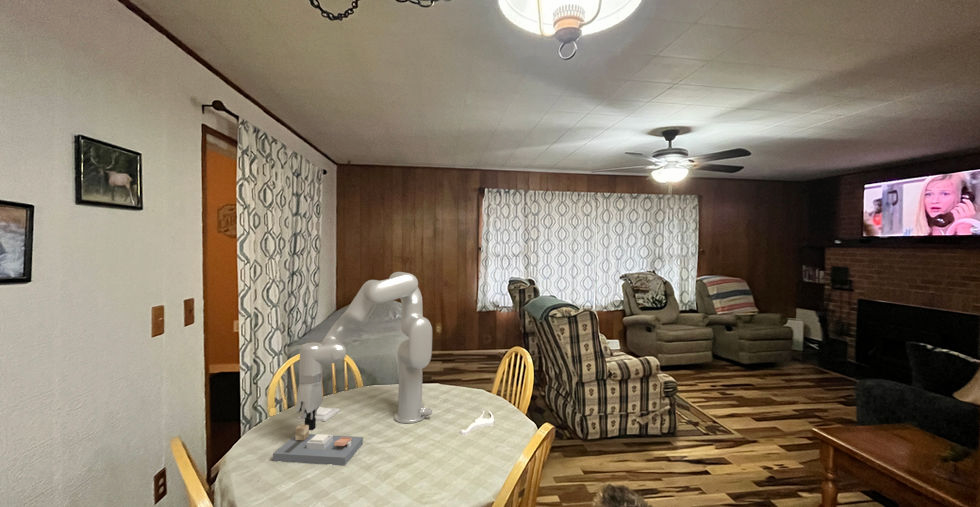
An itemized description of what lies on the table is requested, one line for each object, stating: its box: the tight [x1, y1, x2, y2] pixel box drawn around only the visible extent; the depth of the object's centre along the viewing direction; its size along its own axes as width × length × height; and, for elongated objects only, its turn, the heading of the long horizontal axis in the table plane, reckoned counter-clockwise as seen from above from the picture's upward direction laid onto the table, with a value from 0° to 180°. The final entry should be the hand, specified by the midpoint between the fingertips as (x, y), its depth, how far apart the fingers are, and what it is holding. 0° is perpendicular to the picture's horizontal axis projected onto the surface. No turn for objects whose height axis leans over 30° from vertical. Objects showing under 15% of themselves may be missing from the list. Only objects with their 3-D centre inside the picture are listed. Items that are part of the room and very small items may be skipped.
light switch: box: [296, 405, 341, 422], centre depth 163 cm, size 11×4×13 cm
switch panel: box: [272, 433, 364, 466], centre depth 132 cm, size 24×14×4 cm, turn 85°
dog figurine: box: [458, 410, 495, 436], centre depth 156 cm, size 2×13×20 cm
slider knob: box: [295, 424, 310, 440], centre depth 136 cm, size 3×3×4 cm
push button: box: [311, 433, 330, 443], centre depth 132 cm, size 4×4×2 cm
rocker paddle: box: [334, 437, 352, 446], centre depth 132 cm, size 3×6×2 cm, turn 175°
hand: (310, 429), depth 141 cm, fingers closed
